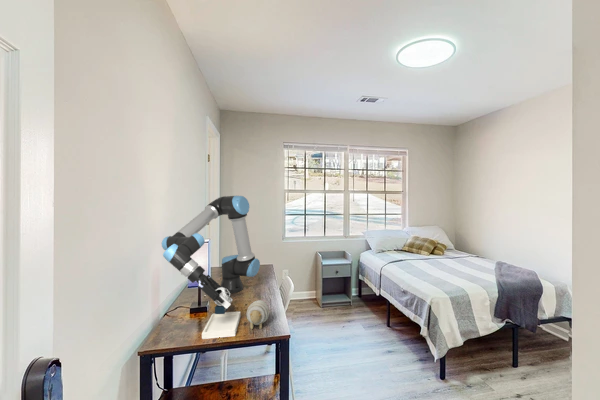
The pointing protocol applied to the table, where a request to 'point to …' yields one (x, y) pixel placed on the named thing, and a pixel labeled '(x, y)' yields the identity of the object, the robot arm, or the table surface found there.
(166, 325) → the table surface
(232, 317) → the tray
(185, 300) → the table surface
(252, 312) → the toy sheep
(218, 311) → the watch
